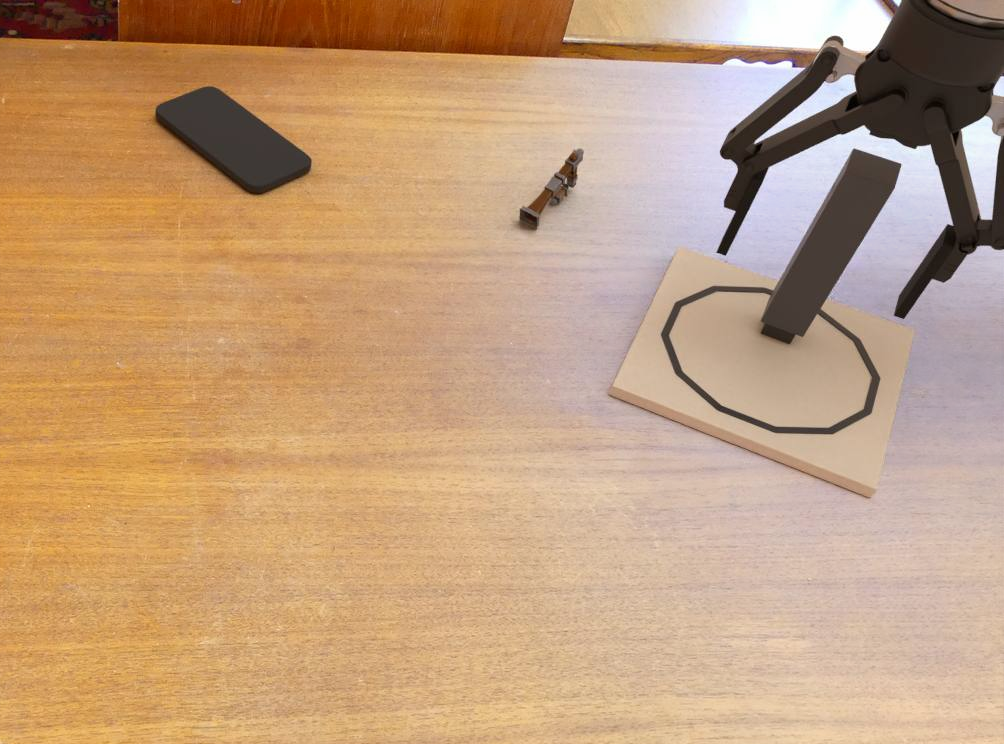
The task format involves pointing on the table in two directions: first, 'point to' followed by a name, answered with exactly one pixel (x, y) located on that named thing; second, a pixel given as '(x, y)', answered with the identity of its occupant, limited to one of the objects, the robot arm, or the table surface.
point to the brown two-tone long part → (553, 189)
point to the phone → (233, 139)
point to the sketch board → (768, 372)
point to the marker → (829, 244)
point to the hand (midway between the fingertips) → (811, 276)
